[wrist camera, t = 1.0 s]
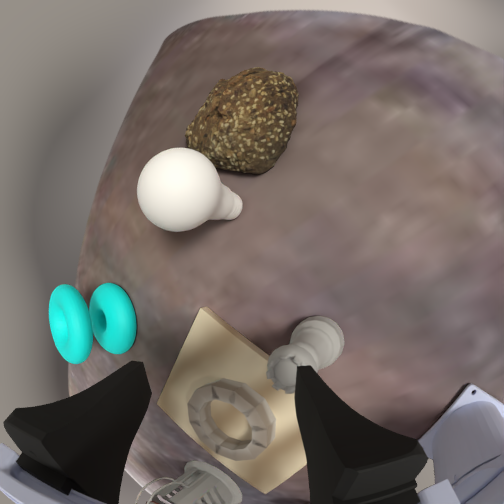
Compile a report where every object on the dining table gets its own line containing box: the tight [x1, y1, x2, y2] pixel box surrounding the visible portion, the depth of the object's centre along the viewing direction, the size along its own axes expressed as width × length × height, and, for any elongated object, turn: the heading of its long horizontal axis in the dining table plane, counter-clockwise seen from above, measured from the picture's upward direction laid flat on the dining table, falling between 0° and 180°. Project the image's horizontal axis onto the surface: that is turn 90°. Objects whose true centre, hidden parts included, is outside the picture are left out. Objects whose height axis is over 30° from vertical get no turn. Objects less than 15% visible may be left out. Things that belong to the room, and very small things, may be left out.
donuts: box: [49, 283, 137, 364], centre depth 30 cm, size 10×10×10 cm
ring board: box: [157, 307, 307, 494], centre depth 23 cm, size 18×16×3 cm
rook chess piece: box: [266, 316, 344, 394], centre depth 18 cm, size 4×4×8 cm
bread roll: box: [185, 67, 299, 174], centre depth 24 cm, size 13×12×5 cm
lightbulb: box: [137, 148, 242, 232], centre depth 21 cm, size 6×6×11 cm
